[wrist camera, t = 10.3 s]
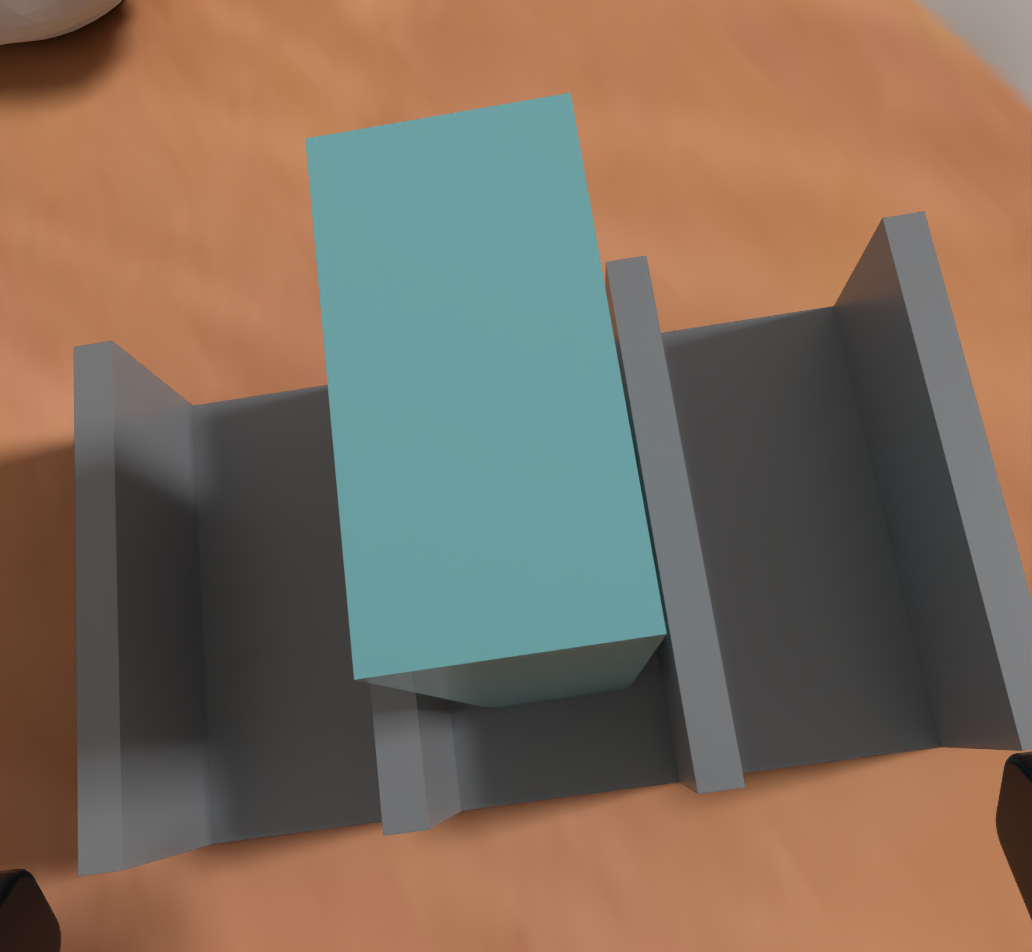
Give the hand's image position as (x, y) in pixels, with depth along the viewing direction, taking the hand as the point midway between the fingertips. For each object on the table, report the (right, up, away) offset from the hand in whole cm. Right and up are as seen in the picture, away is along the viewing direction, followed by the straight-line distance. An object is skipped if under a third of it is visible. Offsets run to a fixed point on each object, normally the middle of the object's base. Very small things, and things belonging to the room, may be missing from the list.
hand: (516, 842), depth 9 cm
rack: (+1, +1, +13) cm, 13 cm away
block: (+1, +1, +13) cm, 13 cm away
